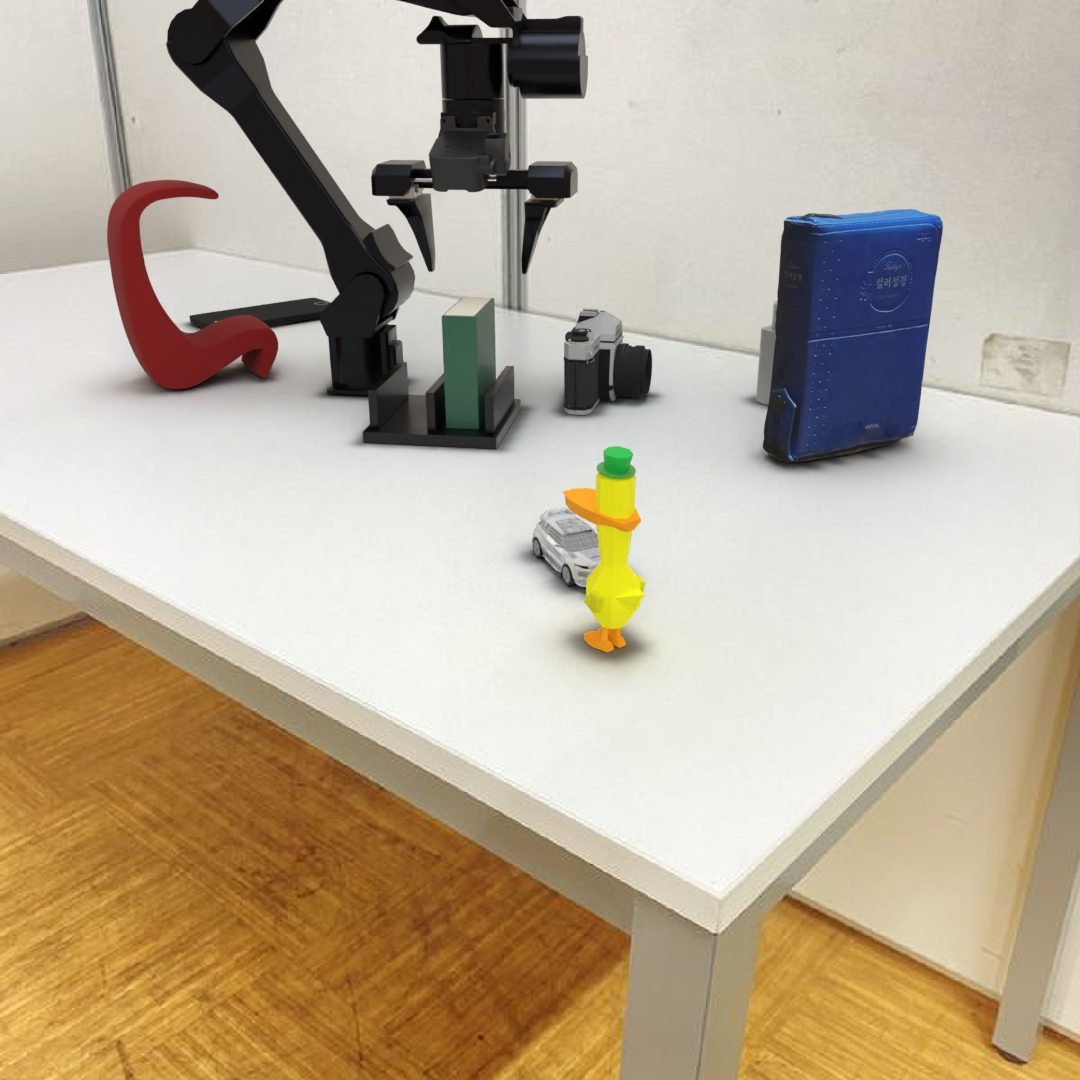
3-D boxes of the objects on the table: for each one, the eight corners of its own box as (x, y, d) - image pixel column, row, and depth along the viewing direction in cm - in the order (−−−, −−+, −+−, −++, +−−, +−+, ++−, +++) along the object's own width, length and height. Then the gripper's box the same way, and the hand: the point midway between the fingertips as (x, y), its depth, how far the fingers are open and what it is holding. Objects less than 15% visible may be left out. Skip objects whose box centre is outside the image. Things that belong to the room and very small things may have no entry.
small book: (445, 428, 100) (441, 315, 96) (465, 402, 107) (462, 296, 103) (479, 429, 99) (475, 316, 95) (496, 404, 107) (494, 297, 103)
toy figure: (543, 628, 67) (543, 437, 63) (589, 611, 69) (592, 424, 65) (619, 673, 62) (625, 469, 58) (666, 653, 64) (675, 455, 60)
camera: (639, 420, 105) (645, 323, 102) (557, 414, 107) (560, 318, 104) (654, 392, 117) (659, 304, 114) (580, 387, 119) (583, 300, 116)
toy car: (576, 595, 71) (576, 552, 70) (526, 549, 78) (526, 509, 77) (628, 585, 73) (629, 542, 72) (574, 540, 79) (574, 500, 78)
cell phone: (348, 314, 147) (347, 307, 147) (217, 335, 137) (216, 327, 136) (315, 303, 153) (314, 296, 153) (188, 322, 143) (187, 315, 143)
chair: (138, 396, 113) (107, 189, 105) (126, 379, 119) (94, 181, 111) (283, 377, 120) (264, 180, 112) (264, 361, 125) (244, 173, 117)
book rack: (363, 442, 100) (359, 393, 98) (400, 403, 110) (397, 358, 109) (496, 449, 98) (495, 398, 96) (520, 409, 109) (520, 363, 107)
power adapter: (752, 400, 111) (761, 277, 106) (789, 390, 114) (799, 270, 109) (776, 407, 109) (786, 281, 104) (813, 397, 112) (825, 275, 107)
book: (790, 473, 92) (812, 220, 84) (749, 454, 96) (767, 211, 88) (921, 446, 98) (954, 207, 90) (878, 429, 102) (906, 200, 94)
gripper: (346, 103, 97) (359, 285, 103) (561, 103, 94) (561, 291, 100) (383, 97, 107) (393, 264, 113) (579, 97, 104) (577, 269, 110)
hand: (477, 272), depth 109 cm, fingers open, 9 cm apart
